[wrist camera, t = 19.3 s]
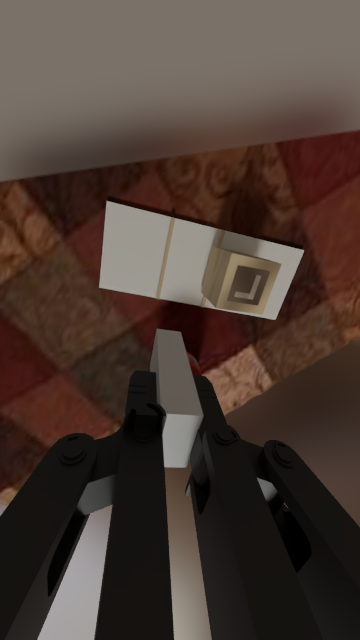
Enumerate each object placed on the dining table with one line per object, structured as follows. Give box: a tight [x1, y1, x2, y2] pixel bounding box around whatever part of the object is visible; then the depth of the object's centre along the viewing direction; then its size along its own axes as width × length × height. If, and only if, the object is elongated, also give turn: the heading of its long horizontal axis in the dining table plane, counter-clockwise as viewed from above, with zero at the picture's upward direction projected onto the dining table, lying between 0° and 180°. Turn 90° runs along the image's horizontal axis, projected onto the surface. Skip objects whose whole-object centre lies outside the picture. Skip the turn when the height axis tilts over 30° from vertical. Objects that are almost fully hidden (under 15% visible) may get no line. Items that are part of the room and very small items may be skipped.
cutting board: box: [99, 201, 304, 320], centre depth 34 cm, size 30×12×1 cm, turn 77°
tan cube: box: [201, 247, 282, 315], centre depth 31 cm, size 7×7×7 cm
